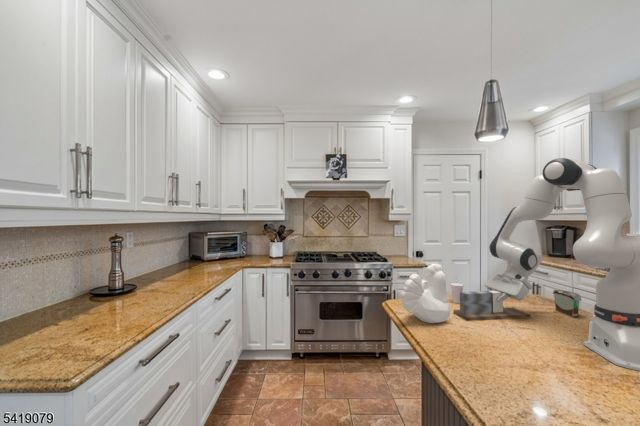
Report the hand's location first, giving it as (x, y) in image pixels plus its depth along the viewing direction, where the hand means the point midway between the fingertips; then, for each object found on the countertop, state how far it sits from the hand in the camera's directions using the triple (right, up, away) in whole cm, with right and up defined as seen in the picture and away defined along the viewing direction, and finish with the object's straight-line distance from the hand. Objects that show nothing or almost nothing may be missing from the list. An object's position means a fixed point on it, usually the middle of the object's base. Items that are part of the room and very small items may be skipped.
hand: (494, 300), depth 130 cm
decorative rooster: (-36, -7, -6) cm, 37 cm away
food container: (+37, -7, +1) cm, 38 cm away
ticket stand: (-2, -7, 0) cm, 7 cm away
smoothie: (-8, -8, +19) cm, 22 cm away
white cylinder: (+1, -5, 0) cm, 5 cm away
